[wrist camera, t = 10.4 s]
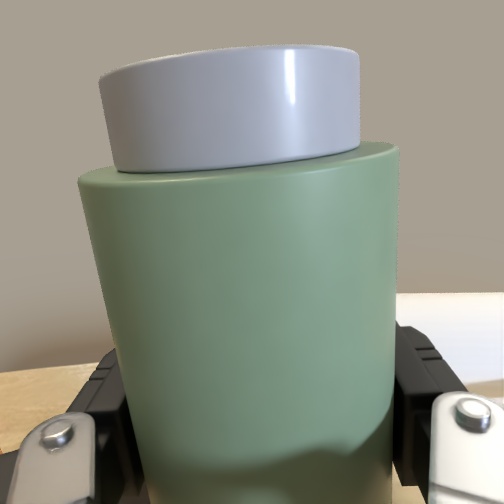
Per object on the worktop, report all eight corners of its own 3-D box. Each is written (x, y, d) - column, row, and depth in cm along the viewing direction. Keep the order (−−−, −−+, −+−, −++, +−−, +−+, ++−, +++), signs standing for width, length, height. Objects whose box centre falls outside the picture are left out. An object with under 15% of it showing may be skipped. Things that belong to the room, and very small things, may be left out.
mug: (368, 362, 34) (368, 277, 32) (494, 365, 32) (505, 275, 30) (391, 483, 23) (394, 365, 20) (586, 497, 21) (616, 370, 19)
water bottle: (361, 553, 14) (356, 73, 9) (418, 810, 9) (479, 7, 4) (208, 558, 14) (126, 97, 9) (175, 809, 9) (-45, 65, 4)
